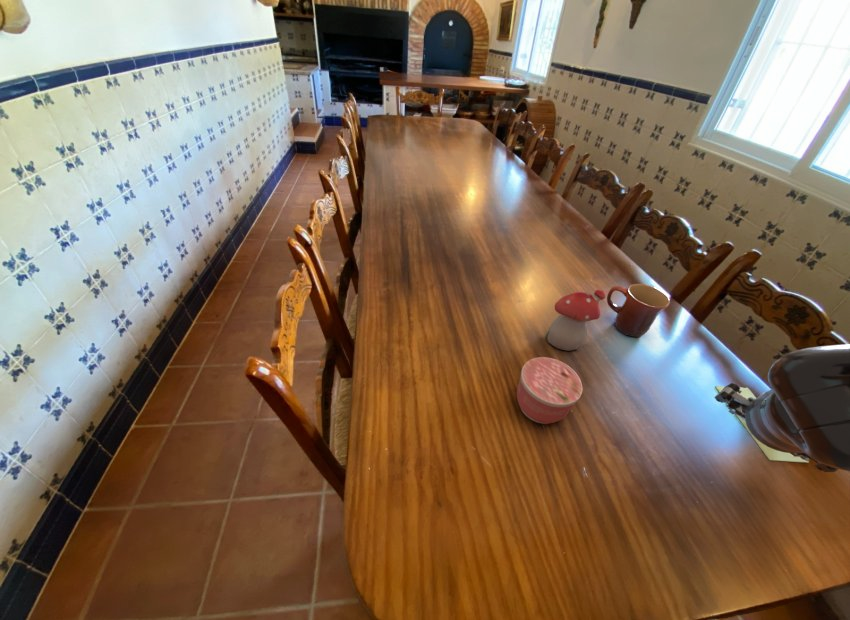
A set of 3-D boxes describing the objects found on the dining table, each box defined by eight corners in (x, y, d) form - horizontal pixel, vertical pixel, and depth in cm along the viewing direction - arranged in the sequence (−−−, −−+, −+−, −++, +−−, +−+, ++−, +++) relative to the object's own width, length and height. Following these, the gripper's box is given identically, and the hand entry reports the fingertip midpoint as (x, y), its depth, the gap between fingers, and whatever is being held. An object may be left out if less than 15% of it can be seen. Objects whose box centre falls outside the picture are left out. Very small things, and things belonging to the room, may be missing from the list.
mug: (651, 326, 88) (672, 293, 81) (644, 346, 82) (667, 313, 75) (601, 306, 93) (617, 274, 86) (592, 324, 87) (609, 290, 80)
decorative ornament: (584, 339, 83) (610, 287, 73) (583, 358, 78) (611, 305, 68) (543, 327, 85) (563, 275, 75) (540, 346, 80) (562, 293, 70)
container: (537, 440, 62) (551, 414, 57) (500, 395, 69) (509, 368, 64) (579, 416, 66) (595, 390, 61) (540, 376, 73) (552, 349, 68)
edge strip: (808, 462, 62) (809, 462, 62) (769, 460, 62) (770, 460, 62) (747, 388, 74) (748, 387, 74) (714, 386, 74) (715, 385, 74)
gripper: (894, 444, 39) (839, 446, 52) (749, 359, 48) (732, 379, 60) (841, 492, 40) (800, 483, 53) (708, 401, 49) (700, 412, 61)
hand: (764, 427), depth 56 cm, fingers open, 8 cm apart
